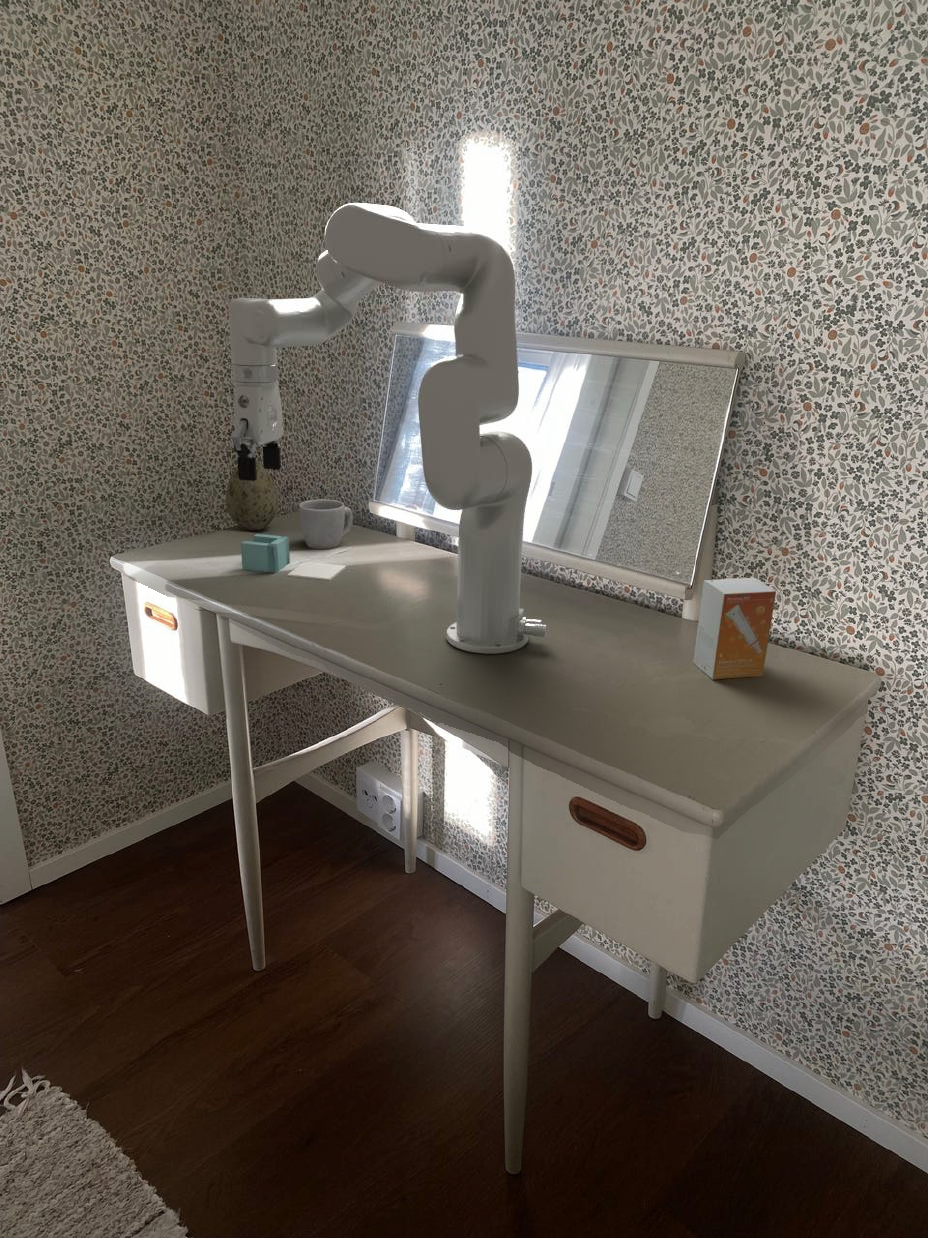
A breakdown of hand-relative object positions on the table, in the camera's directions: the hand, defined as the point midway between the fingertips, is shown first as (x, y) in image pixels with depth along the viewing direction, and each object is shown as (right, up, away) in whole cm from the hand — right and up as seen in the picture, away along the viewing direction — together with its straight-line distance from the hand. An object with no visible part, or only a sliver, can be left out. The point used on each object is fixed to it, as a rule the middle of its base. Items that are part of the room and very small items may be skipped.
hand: (260, 474), depth 164 cm
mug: (+9, -12, +22) cm, 27 cm away
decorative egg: (-9, -7, +35) cm, 37 cm away
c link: (0, -16, +6) cm, 17 cm away
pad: (+9, -17, +4) cm, 20 cm away
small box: (+74, -33, -30) cm, 87 cm away
